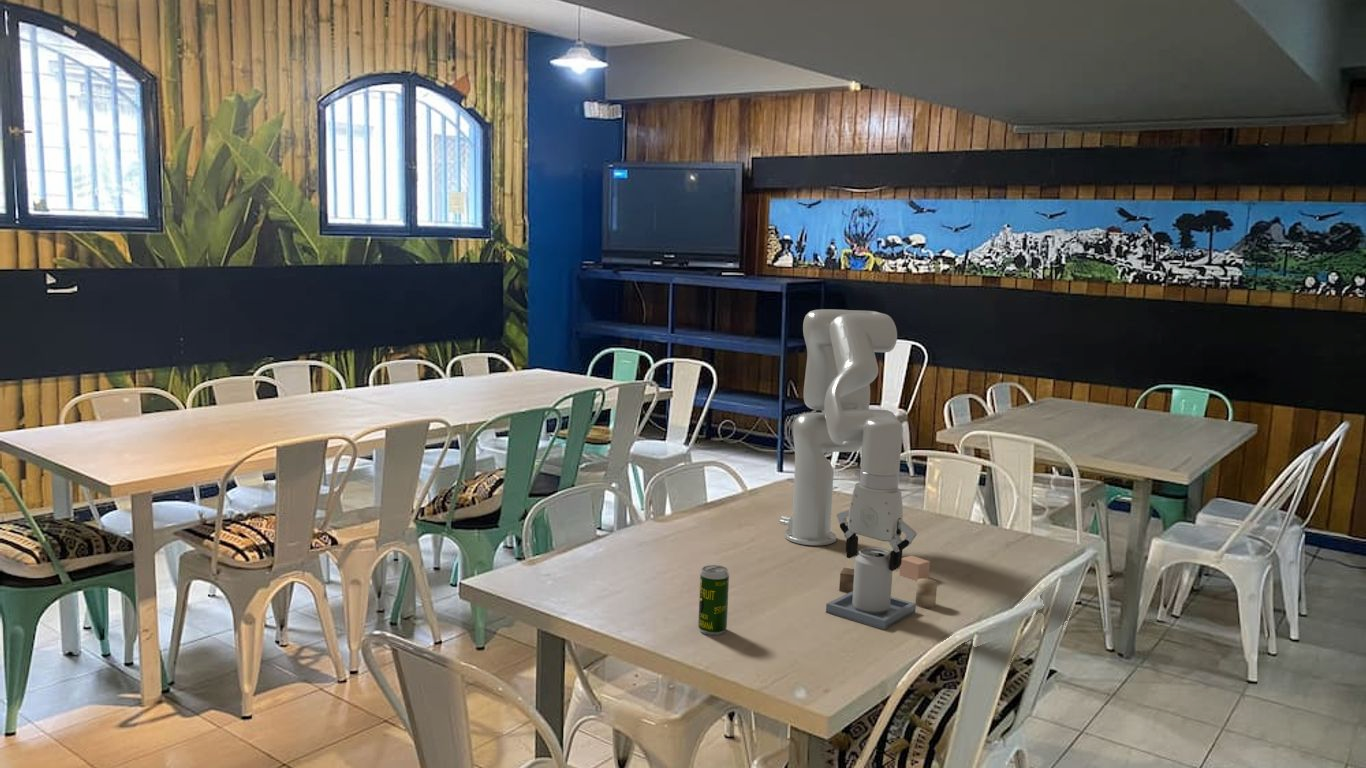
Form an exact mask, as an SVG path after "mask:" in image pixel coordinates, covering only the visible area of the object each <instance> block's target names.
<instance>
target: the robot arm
mask: <svg viewBox="0 0 1366 768" xmlns="http://www.w3.org/2000/svg"><path fill="white" fill-rule="evenodd" d="M802 323H803V324H802V332H803V338H804V342H805V346H806V352H807V356H806V363H805V364H806V366H805V375H804V385H803V401H804V404H805V405H806V407H807V408H809V409H811V410H816V411H823V412H806V413H803V414H800V415H799V416H797V417H796V418H795V420H794V422H793V428H792V434H793V445H794V478H793V482H794V483H793V499H792V513H791V514H792V515H791V516H792V517H791V516H789V515H785V514H783V515H782V516H781V517H780V520H779V524H780V525H783V526H787V529H786V531H785V532H784V537H785V539H787V541H790V542H792V543H794V544H798V545H804V546H826V545H830V544H833V543H835V542H836V541H837V535H836V533H835V532H833V531H831V525H832V524H831V522H832V520H831V519H832V507H833V506H832V504H833V488H834V473H835V472H834V468H833V467H834V466H833V465H832V464H831V462H830V461H829V459H828V458H827V457H826V455H825V453H855V452H857V451H859V450H861V458H860V469H858V468H857V469H855V470H854V475H855V477H858V482H857V483H855V485H854V488H853V492H852V494H851V499H850V504H849V509H847V510H843V511H840V512H838V513H837V514H836V517H837V521H838V524H839V528H840V530H841V531H842V533H843V536H844V538H845V539H846V541H845V552H846V555H845V557H846V558H847V559H852V558H853V557H854V558H855V557H856V556H857V555H858V550H859V549H858V547H859V546H858V545H859V536H863V537H867V538H870V539H874V540H876V541H881V542H888V543H889V544H890V547H891V548H892V550H891V551H889V553H890V564H889V569H890V570H891V571H893V572H894V571H896V570H898V569H900V565H901V562H902V558H903V550H904V549H906V548H907V547H909V546H910V545H911V544H912V543H913V541H914V539H916V537H917V534H918V533H917V531H916V530H915V529H913V528H912V527H911V526H909V524H908V523H906V522H905V521H903V520H904V519H903V517H904V511H903V510H904V508H903V496H902V491H901V488H899V482H900V481H899V479H900V465H901V455H902V444H903V429H904V428H903V424H902V422H900V421H899V420H898V418H897V417H896V415H895V413H894V412H892V410H891V411H890V410H888V409H870V403H871V386H870V385H871V384H872V383H873V382H874V381H875V379H876V378H877V377H878V375H879V366H878V361H877V357H876V353H889V352H891V351H893V349H894V348H895V346H896V344H897V341H898V340H897V339H898V330H897V327H896V324H895V321H894V320H893V318H892V317H891V316H890V315H888V314H886V313H883V312H878V311H875V310H854V309H853V310H851V309H849V310H848V309H831V308H830V309H825V308H823V309H814V310H810V311H809V312H807V314H805V316H804V319H803V322H802ZM847 518H848V519H847ZM902 532H903V533H904V534H905V538H904V539H902V537H901V536H902ZM858 535H859V536H858Z"/></svg>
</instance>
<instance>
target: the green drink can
mask: <svg viewBox="0 0 1366 768" xmlns="http://www.w3.org/2000/svg"><path fill="white" fill-rule="evenodd" d="M699 576H700V578H699V595H698V596H699V598H698V622H697V623H698V624H697V625H698V627H697V628H698V629H699V632H700V633H701V634H705V635H706V636H707V635H708V636H720V635H723V634H725V632H726V630H727V628H728V627H727V626H728V608H729V607H728V605H729V589H730V588H729V587H730V586H729V585H730V584H729V583H730V582H729V581H730V575H729V569H728V568H727V567H726V566H722V565H716V564H711V565H710V564H709V565H706V566H702V567H701V571H700V575H699Z"/></svg>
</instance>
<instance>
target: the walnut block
mask: <svg viewBox="0 0 1366 768" xmlns="http://www.w3.org/2000/svg"><path fill="white" fill-rule="evenodd" d="M853 584H854V568H849V567H843V569H842V570H841V571H840V573H839V585H838V586H839V592H843V593H844V592H845V593H850V592H852V591H853Z"/></svg>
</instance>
